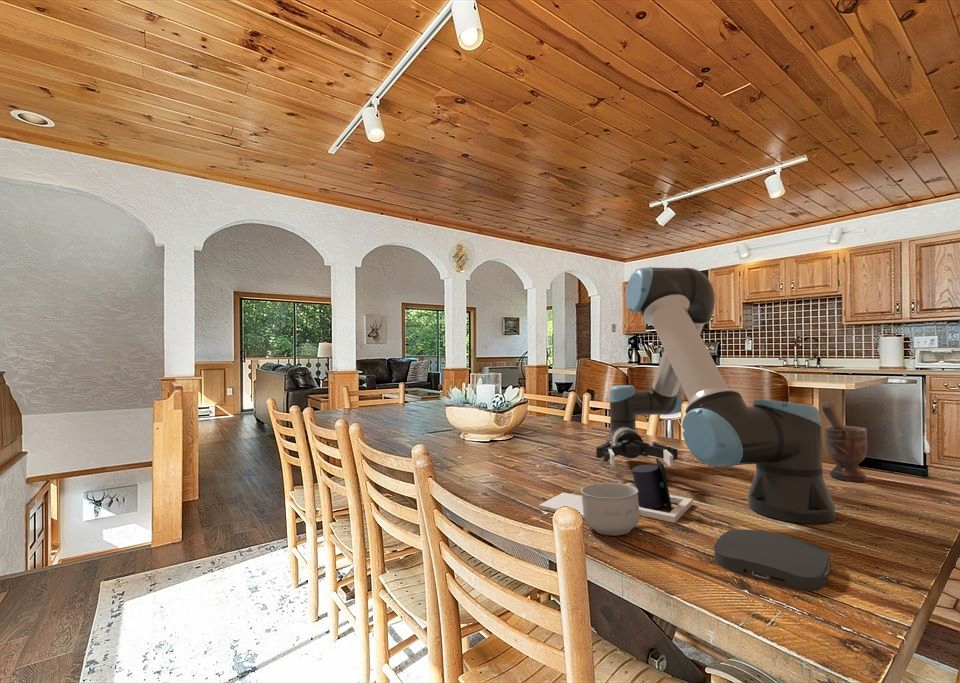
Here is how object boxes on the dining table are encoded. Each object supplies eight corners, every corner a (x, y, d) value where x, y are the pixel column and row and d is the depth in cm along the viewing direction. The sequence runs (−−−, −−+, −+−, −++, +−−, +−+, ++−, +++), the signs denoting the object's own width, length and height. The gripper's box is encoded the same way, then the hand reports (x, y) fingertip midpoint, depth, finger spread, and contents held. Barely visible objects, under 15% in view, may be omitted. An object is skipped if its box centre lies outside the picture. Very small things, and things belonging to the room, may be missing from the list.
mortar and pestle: (864, 487, 109) (860, 405, 110) (820, 480, 115) (816, 402, 116) (871, 478, 117) (868, 401, 117) (830, 472, 123) (827, 399, 124)
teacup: (609, 546, 80) (608, 500, 80) (570, 525, 89) (569, 485, 90) (664, 530, 86) (662, 488, 86) (622, 513, 96) (621, 475, 96)
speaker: (675, 503, 100) (668, 457, 101) (672, 513, 95) (665, 464, 96) (640, 502, 104) (633, 457, 104) (635, 511, 99) (628, 464, 99)
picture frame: (692, 504, 100) (692, 498, 100) (674, 522, 90) (674, 516, 90) (633, 493, 109) (632, 488, 109) (610, 509, 98) (609, 503, 98)
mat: (606, 504, 101) (606, 501, 101) (584, 519, 93) (584, 515, 93) (563, 495, 108) (563, 492, 108) (538, 508, 100) (538, 505, 100)
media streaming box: (733, 538, 83) (733, 521, 83) (834, 562, 73) (833, 543, 73) (707, 566, 72) (707, 547, 72) (821, 599, 62) (820, 577, 62)
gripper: (674, 456, 128) (697, 477, 107) (584, 454, 132) (589, 475, 111) (673, 430, 128) (696, 446, 107) (583, 429, 132) (589, 444, 111)
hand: (642, 460), depth 109 cm, fingers open, 13 cm apart
